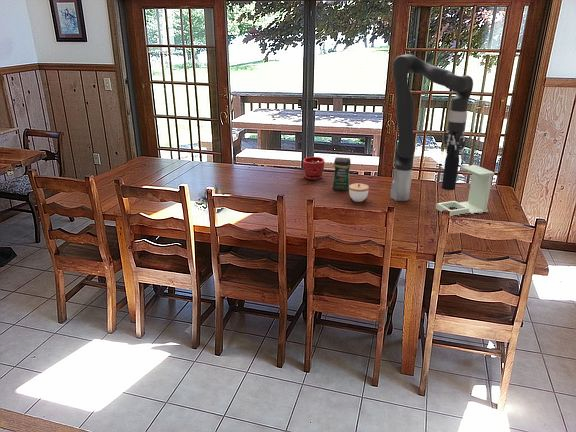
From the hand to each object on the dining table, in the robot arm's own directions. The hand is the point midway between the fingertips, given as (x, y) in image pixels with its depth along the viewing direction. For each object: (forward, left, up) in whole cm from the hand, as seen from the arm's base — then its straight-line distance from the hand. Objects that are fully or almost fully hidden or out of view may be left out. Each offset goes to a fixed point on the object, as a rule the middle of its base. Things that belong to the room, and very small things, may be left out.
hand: (452, 155), depth 218 cm
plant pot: (-41, +76, -31) cm, 92 cm away
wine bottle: (0, 0, -17) cm, 17 cm away
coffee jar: (-33, +52, -31) cm, 69 cm away
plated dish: (-108, +57, -31) cm, 126 cm away
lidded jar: (-32, +32, -31) cm, 55 cm away
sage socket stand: (+11, +1, -30) cm, 32 cm away
